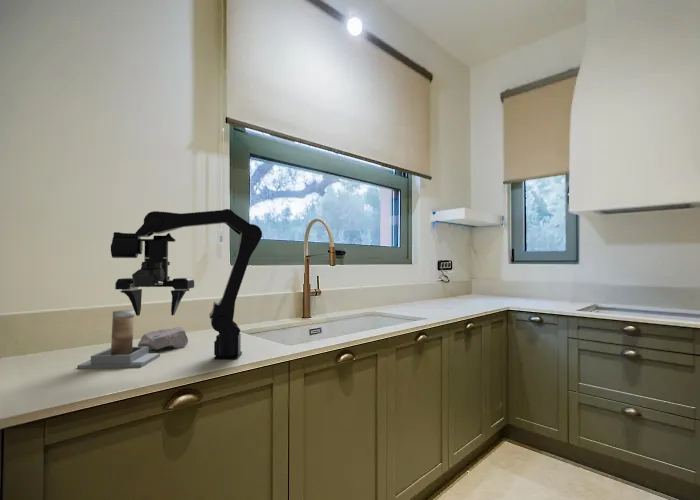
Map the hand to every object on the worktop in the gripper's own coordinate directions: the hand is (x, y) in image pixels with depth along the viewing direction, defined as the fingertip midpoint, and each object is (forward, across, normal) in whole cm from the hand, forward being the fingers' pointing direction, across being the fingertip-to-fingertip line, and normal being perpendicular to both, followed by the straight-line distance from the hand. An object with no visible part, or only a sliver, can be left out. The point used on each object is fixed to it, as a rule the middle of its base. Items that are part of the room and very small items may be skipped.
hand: (155, 315), depth 101 cm
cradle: (+13, -10, +2) cm, 17 cm away
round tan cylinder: (+12, -10, +2) cm, 16 cm away
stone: (+13, -6, +17) cm, 22 cm away
